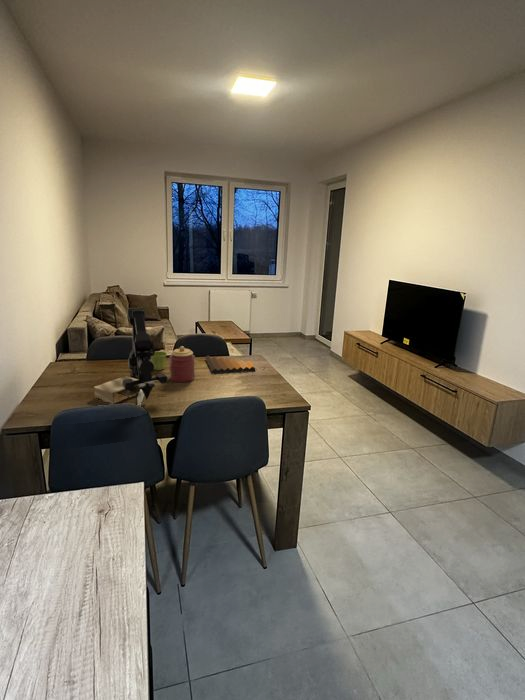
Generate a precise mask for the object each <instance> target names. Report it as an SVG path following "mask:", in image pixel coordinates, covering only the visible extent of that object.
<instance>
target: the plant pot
mask: <svg viewBox="0 0 525 700" xmlns="http://www.w3.org/2000/svg"><path fill="white" fill-rule="evenodd" d="M167 356H168V352H166V351H155V353H154V356H151V360H152V362H153V365H154V370H156V371H162V369H163V370H164V369H165V368H166V359H167Z"/></svg>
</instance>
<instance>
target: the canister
mask: <svg viewBox="0 0 525 700" xmlns="http://www.w3.org/2000/svg"><path fill="white" fill-rule="evenodd" d="M170 354H171V355H170V356H169V361H170V362H169V378H170V381H172V382H175V383H186V382H191V381H193V380H195V377H196V372H195V371H196V370H195V364H196V362H195V358H196V356H195V355H194V352H193V351H192V350H191V349H189V348H185V347H184V346H183V345H181V346H179V348H176V349H174V350H172V351H171V352H170Z"/></svg>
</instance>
